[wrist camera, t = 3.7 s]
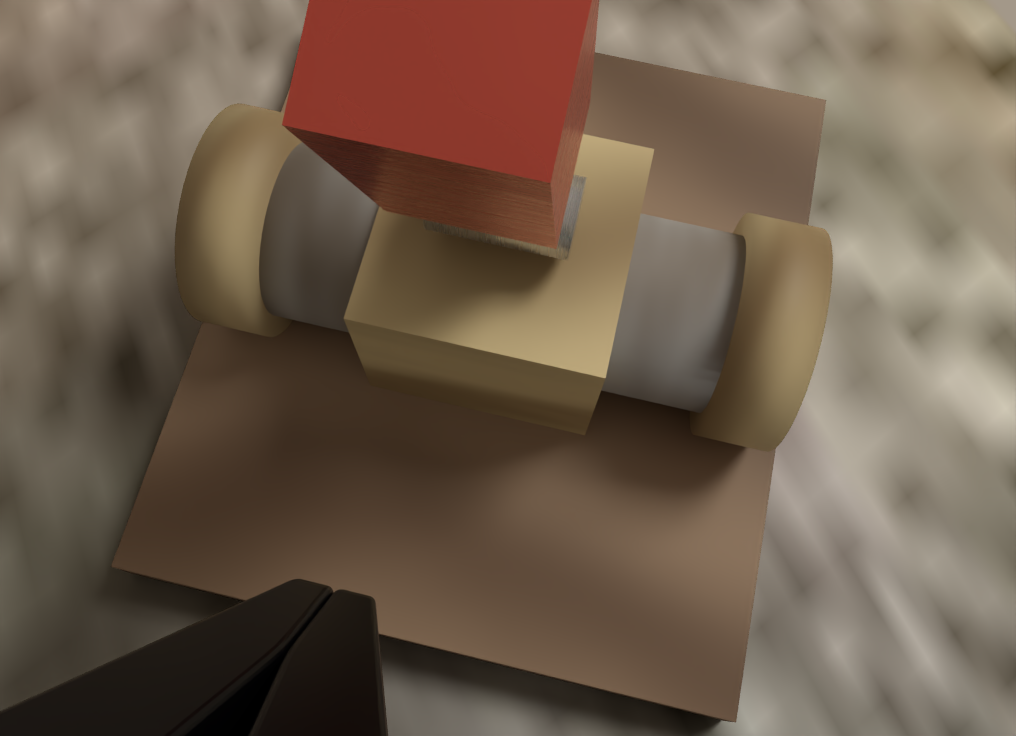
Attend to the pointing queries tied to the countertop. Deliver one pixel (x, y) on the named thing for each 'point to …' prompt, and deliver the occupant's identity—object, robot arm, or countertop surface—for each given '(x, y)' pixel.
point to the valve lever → (453, 110)
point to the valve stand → (503, 391)
